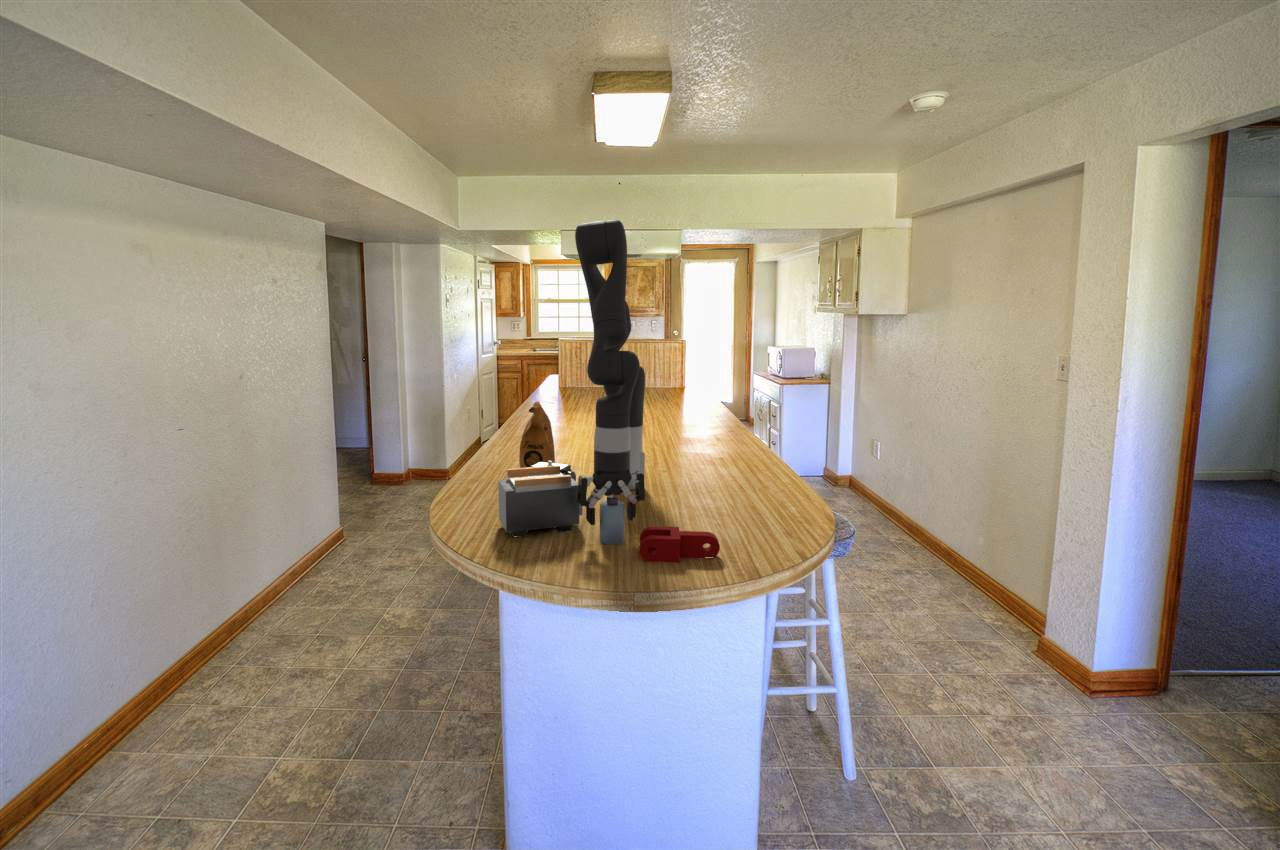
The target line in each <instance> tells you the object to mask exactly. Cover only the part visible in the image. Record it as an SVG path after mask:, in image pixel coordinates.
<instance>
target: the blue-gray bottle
mask: <svg viewBox="0 0 1280 850" xmlns="http://www.w3.org/2000/svg"><path fill="white" fill-rule="evenodd" d="M625 508H626V507H625V503H624V502H623V501H620V500H619V496H618V495H610V496H606V500H604V501H602V502H600V503H599V542H600V543H601V544H605V545H611V546H612V545H619V544H623V543H624V541H625V510H626V509H625Z"/></svg>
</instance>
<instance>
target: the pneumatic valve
mask: <svg viewBox="0 0 1280 850" xmlns="http://www.w3.org/2000/svg"><path fill="white" fill-rule="evenodd" d="M555 465H560V472H561V473H562V474H563V475H571V478H572V479H573V480H575V481H576V480H577V474H576V472H575V471H573V469H572V465H571V464H563V463H555V464H554V463H552V461H548V463H545V462H536V463H534V464H532V465H530V466H529V467H541V466H555ZM576 482H577V481H576Z"/></svg>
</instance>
